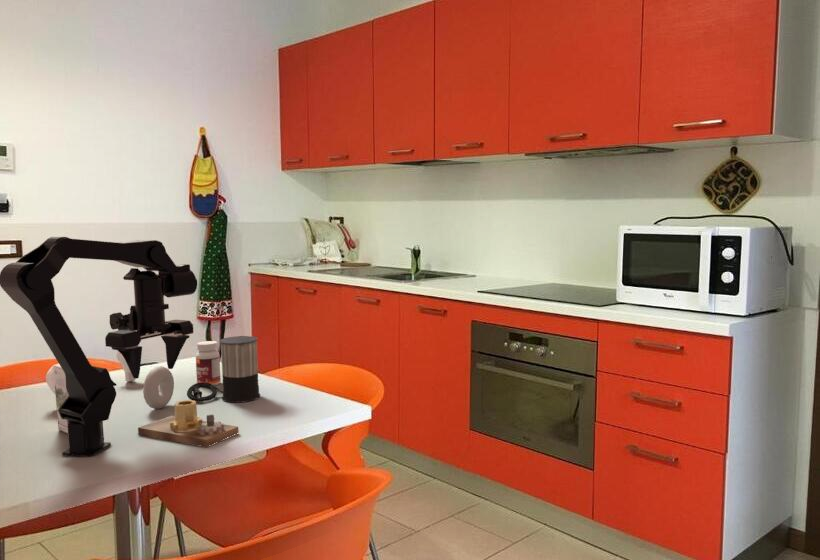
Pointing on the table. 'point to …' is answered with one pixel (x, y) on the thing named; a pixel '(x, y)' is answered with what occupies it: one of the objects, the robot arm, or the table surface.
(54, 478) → the table surface
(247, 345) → the milk frother
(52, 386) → the spinning top
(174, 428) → the brass gear
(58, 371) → the syrup box
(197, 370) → the pill bottle
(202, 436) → the board
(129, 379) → the lightbulb
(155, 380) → the donut
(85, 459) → the table surface
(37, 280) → the robot arm
